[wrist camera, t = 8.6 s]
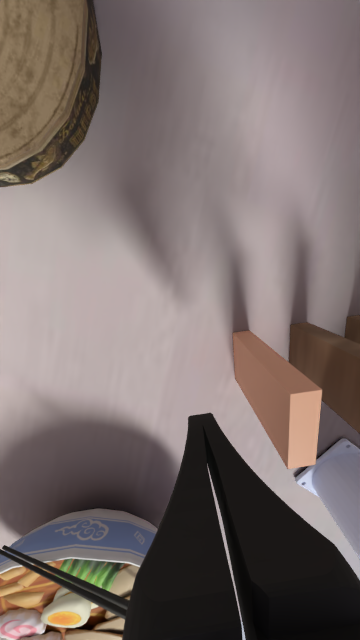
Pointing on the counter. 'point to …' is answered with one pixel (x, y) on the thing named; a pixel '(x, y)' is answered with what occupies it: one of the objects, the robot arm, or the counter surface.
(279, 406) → the orange tan rectangular block
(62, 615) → the ramen bowl
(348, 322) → the domino
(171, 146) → the counter surface
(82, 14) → the wooden tree slice
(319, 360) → the domino
